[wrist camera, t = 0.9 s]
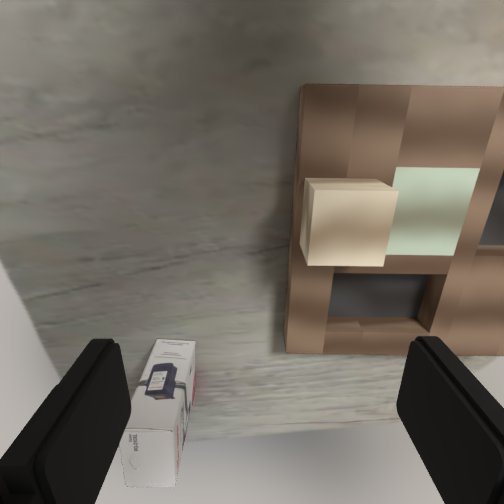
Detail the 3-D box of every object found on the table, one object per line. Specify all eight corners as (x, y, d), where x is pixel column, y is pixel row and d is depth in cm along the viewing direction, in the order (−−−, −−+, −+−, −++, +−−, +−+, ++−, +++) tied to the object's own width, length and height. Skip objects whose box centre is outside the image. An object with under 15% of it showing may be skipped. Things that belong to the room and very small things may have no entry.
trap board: (300, 86, 26) (306, 83, 23) (585, 91, 26) (624, 88, 23) (283, 335, 37) (285, 353, 34) (486, 338, 37) (504, 356, 34)
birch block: (305, 177, 26) (314, 190, 22) (376, 178, 26) (399, 191, 22) (299, 243, 29) (307, 265, 25) (364, 244, 29) (383, 266, 25)
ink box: (196, 391, 41) (176, 492, 30) (158, 389, 40) (123, 490, 30) (196, 340, 37) (174, 432, 26) (155, 337, 37) (114, 429, 26)
